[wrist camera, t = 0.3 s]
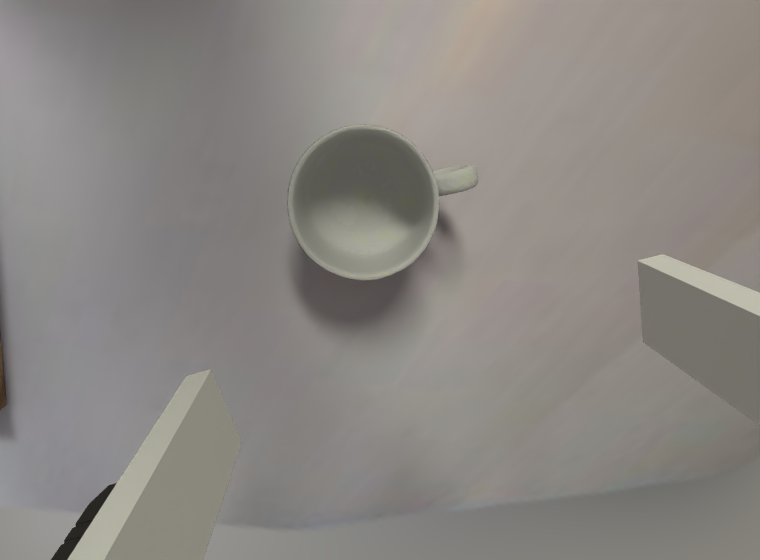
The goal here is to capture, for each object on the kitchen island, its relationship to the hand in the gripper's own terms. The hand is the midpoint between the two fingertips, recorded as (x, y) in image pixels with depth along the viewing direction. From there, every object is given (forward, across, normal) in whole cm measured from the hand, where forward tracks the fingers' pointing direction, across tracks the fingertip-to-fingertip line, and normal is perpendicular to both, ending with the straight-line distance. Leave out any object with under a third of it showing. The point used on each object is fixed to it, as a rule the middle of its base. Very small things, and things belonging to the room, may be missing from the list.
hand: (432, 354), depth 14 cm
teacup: (+28, +1, +1) cm, 28 cm away
